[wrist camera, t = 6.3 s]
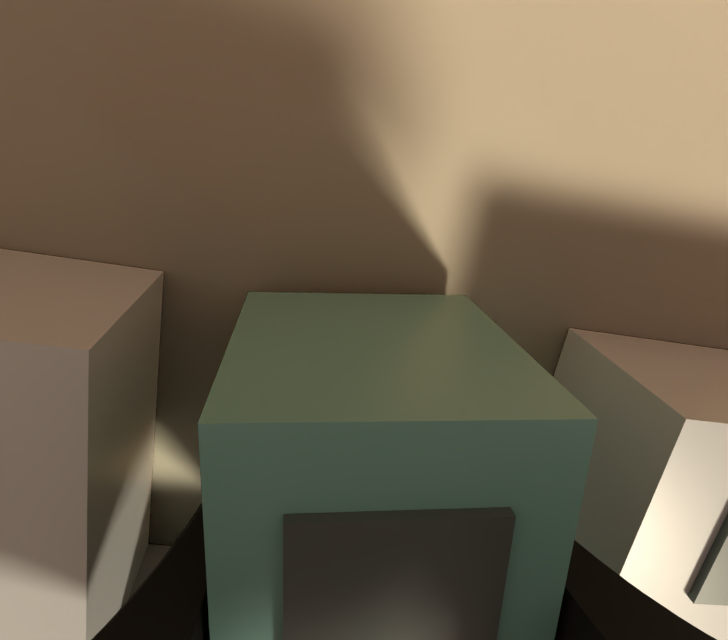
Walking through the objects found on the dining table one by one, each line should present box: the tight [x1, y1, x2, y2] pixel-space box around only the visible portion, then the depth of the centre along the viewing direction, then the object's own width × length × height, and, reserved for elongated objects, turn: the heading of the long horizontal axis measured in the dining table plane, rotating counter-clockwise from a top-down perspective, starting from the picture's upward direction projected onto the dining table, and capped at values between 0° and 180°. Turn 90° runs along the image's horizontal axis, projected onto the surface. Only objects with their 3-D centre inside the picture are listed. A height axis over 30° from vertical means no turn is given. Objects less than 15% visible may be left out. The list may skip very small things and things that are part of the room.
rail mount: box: [0, 249, 728, 640], centre depth 12 cm, size 26×10×5 cm, turn 80°
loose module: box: [198, 292, 598, 640], centre depth 10 cm, size 5×7×6 cm
